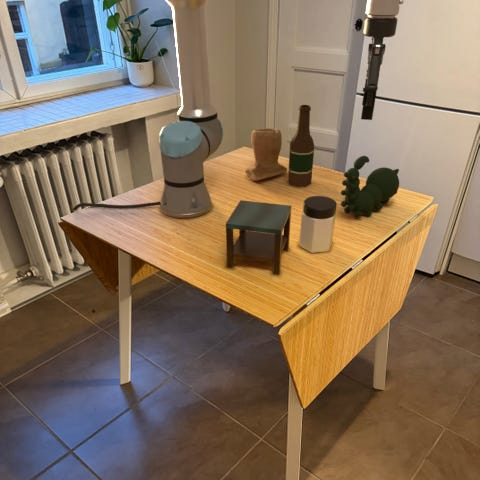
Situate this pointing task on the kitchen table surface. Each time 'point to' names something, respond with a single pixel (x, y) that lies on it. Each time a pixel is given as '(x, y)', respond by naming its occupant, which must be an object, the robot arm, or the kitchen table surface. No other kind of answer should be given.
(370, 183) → the toy figurine
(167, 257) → the kitchen table surface
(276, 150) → the tan piece
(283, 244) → the stand
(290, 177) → the beer bottle
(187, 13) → the robot arm
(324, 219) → the jar
